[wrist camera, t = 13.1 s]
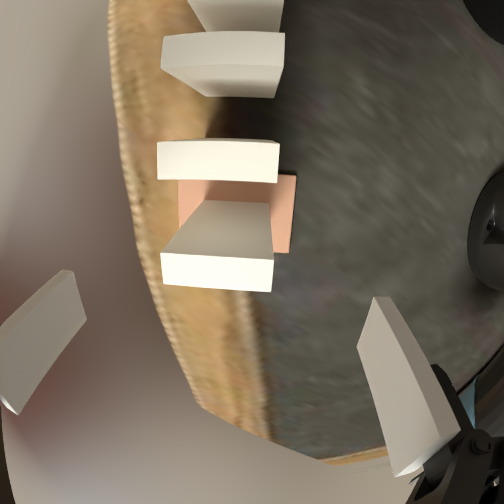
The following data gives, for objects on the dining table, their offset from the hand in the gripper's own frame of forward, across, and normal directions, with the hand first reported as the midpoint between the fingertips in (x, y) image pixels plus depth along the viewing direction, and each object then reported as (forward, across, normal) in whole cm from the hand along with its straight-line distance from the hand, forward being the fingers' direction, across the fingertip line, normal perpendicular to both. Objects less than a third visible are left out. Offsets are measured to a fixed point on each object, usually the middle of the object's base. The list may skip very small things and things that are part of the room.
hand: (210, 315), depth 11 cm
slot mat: (+15, +1, 0) cm, 15 cm away
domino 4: (+14, 0, 0) cm, 14 cm away
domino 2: (+14, +1, -11) cm, 18 cm away
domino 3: (+15, +1, -6) cm, 16 cm away
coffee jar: (+15, -28, -31) cm, 44 cm away
